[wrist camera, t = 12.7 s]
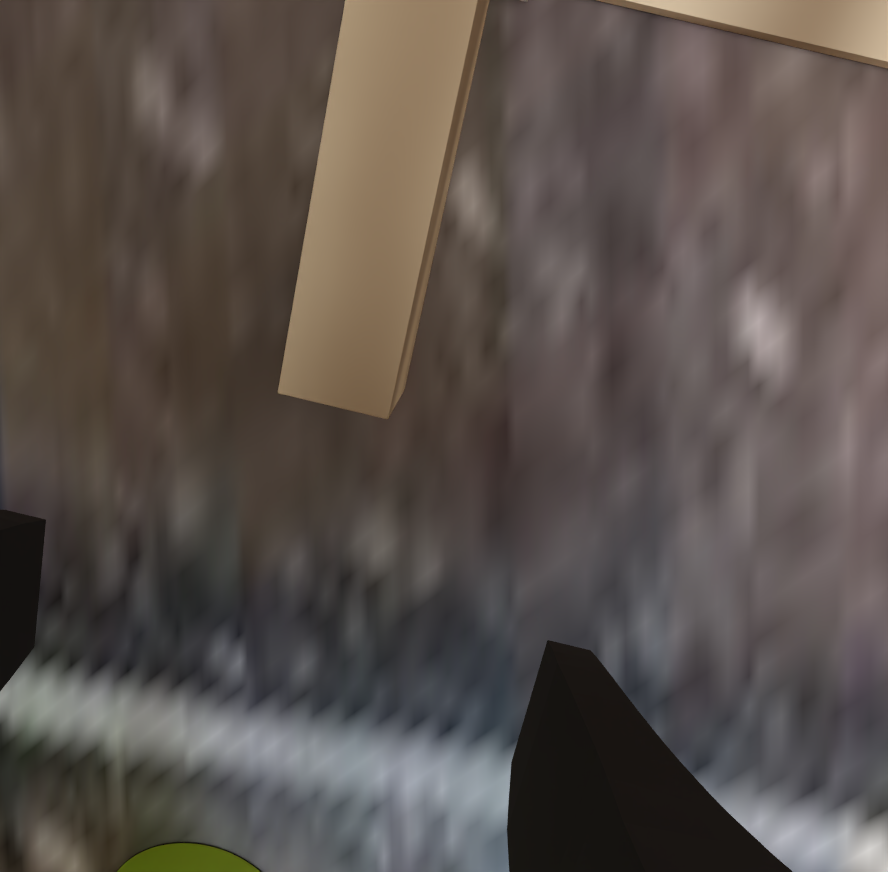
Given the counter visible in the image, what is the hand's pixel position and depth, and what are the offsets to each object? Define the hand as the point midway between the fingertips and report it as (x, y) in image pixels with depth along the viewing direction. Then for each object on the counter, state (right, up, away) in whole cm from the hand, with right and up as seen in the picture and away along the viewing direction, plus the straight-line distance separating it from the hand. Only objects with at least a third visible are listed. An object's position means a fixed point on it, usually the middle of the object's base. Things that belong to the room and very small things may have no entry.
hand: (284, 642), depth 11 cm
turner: (+2, +11, +7) cm, 13 cm away
